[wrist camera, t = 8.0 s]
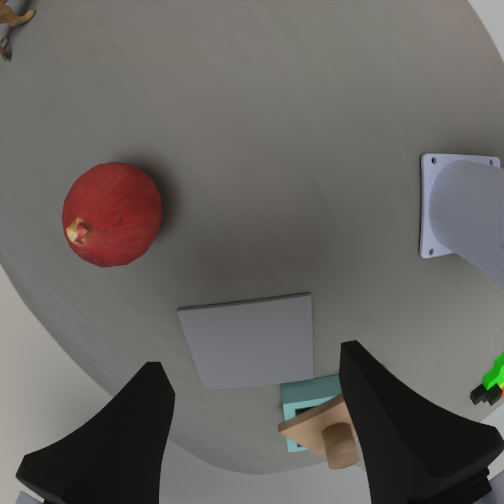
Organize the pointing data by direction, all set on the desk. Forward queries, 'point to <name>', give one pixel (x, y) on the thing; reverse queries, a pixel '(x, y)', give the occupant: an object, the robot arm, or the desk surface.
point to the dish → (307, 399)
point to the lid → (325, 432)
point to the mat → (251, 341)
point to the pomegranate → (112, 214)
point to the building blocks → (491, 384)
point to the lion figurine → (11, 22)
